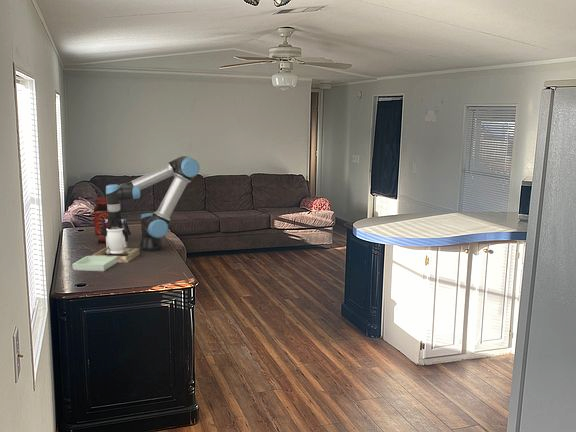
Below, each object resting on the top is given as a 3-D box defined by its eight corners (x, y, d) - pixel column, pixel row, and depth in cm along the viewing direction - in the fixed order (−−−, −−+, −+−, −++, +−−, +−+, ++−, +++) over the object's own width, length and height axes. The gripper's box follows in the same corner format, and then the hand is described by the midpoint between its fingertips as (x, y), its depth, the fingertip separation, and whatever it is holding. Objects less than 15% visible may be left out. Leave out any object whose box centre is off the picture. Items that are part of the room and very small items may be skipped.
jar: (110, 255, 338) (108, 230, 335) (106, 251, 347) (104, 227, 344) (128, 253, 343) (126, 228, 340) (124, 249, 352) (122, 225, 349)
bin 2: (139, 254, 354) (139, 248, 353) (127, 262, 334) (127, 256, 334) (105, 252, 356) (105, 247, 355) (91, 261, 337) (91, 255, 336)
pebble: (112, 253, 354) (111, 248, 353) (110, 255, 351) (109, 250, 350) (107, 253, 354) (107, 248, 354) (105, 254, 351) (104, 249, 351)
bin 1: (116, 262, 334) (116, 256, 333) (103, 271, 316) (103, 265, 316) (87, 261, 336) (87, 255, 335) (72, 270, 318) (72, 263, 318)
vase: (117, 239, 391) (114, 196, 386) (117, 244, 379) (115, 199, 373) (95, 241, 387) (93, 197, 381) (95, 245, 374) (93, 200, 369)
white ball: (136, 254, 352) (136, 249, 352) (134, 256, 349) (134, 250, 349) (131, 254, 353) (131, 249, 352) (129, 255, 350) (129, 250, 349)
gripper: (134, 209, 342) (137, 245, 347) (98, 209, 345) (101, 245, 349) (130, 211, 335) (132, 248, 339) (92, 211, 338) (95, 248, 342)
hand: (116, 246), depth 344 cm, fingers closed on jar, 10 cm apart
